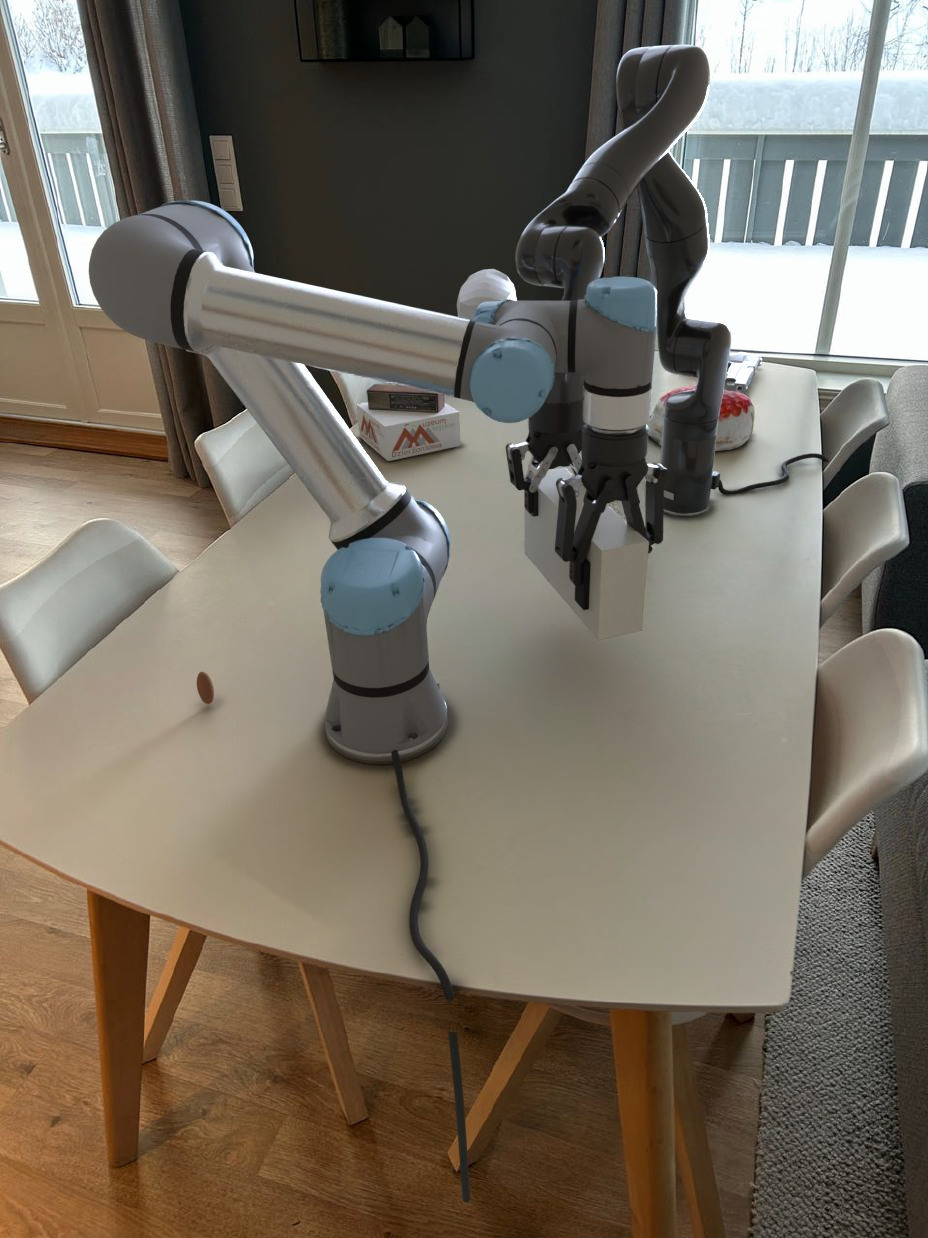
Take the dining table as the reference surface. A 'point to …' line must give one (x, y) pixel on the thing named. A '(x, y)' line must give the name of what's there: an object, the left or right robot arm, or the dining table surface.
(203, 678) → the brown disc
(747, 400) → the cake
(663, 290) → the right robot arm
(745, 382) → the pistol
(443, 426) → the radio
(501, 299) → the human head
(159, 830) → the dining table surface
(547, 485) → the box
